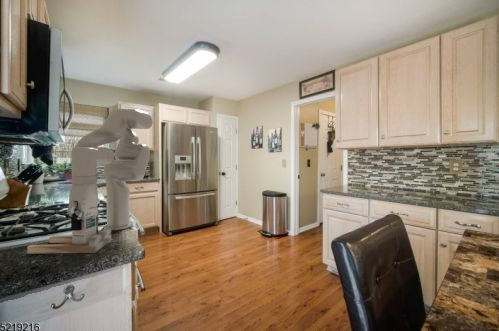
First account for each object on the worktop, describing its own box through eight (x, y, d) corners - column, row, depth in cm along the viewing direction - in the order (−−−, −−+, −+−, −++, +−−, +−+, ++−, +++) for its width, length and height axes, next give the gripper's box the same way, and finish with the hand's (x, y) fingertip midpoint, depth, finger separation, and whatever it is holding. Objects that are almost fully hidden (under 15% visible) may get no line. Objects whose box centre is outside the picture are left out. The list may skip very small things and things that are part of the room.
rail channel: (52, 241, 88) (52, 229, 88) (111, 240, 90) (111, 228, 90) (27, 253, 77) (27, 239, 77) (94, 252, 79) (94, 238, 79)
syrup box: (85, 250, 81) (85, 210, 80) (71, 248, 82) (71, 209, 82) (98, 244, 87) (98, 207, 86) (85, 242, 88) (85, 206, 87)
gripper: (88, 177, 92) (89, 219, 92) (55, 183, 74) (57, 234, 75) (107, 178, 92) (108, 219, 93) (79, 183, 75) (80, 234, 76)
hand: (85, 225), depth 84 cm, fingers open, 9 cm apart
